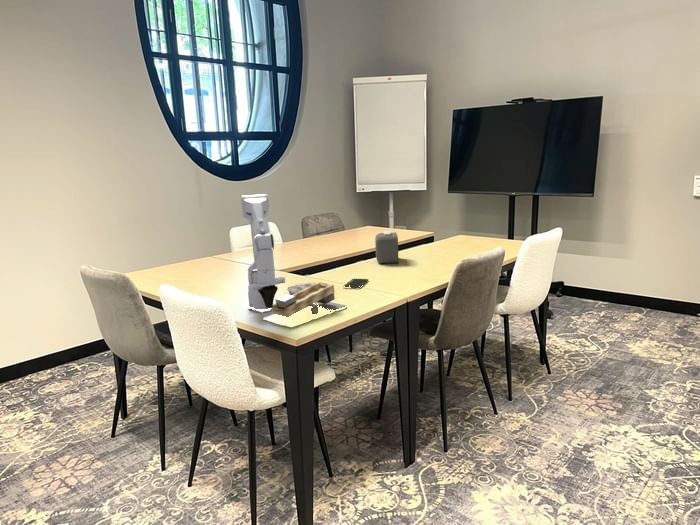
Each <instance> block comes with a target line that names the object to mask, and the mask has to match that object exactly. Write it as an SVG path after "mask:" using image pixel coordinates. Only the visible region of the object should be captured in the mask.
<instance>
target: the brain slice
mask: <svg viewBox="0 0 700 525" xmlns="http://www.w3.org/2000/svg"><path fill="white" fill-rule="evenodd" d="M316 283H317V282H303V283H298V284H295V285H291V286H288V287H287V289H286V290H287V292H289V295H293V294H295V293H297V292H299V291H301V290H304V289H306V288H308V287H310V286H312V285H314V284H316ZM320 283H321V284H322V285H327V286H329V285H331V283H325V282H320Z"/></svg>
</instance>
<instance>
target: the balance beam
mask: <svg viewBox="0 0 700 525" xmlns="http://www.w3.org/2000/svg"><path fill="white" fill-rule="evenodd" d="M315 283H316V284H314V285H312V286H310V287H308V288H306V289H304V290H301V291H299V292H297V293H295V294H293V295H292V296H295V299H296V303H294V304H292V305H290V306H289V307H287V308H285V309H280V308H277V305H276V302H275V303H273V306H272V310H271V311H272V314H278V315H282V316H286V317H289V316H291V315H292V314H294V313H296V312H298V311H300V310H302V309H304V308H306V307H308V306H312V307H317V305H315V304H313V303H315V302H319V303H323V304H327V303H329V302H333V301H335V286H334V284H331V283H330V284H331V285H329V286H327V285H322V284H321V283H322V282H320V281H319V282H315Z"/></svg>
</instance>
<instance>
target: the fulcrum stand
mask: <svg viewBox="0 0 700 525" xmlns="http://www.w3.org/2000/svg"><path fill="white" fill-rule="evenodd" d="M317 303H318V305H319V307H320V306H322V308H323V307H324V308H325V309H327V308H328V309H329V310H330V309H331V310H332V309H333V310H336V309H339V308H342V307H345V306H347V305H346V304H341V303H338V302H337V303H336V302H333V301H331V302H329V303H327V304H323V303H319V302H315V304H316V305H317ZM318 305H317V306H318ZM328 309H327V310H328ZM311 311H312V314H317V313H318V307H313V308H311ZM330 312H331V311H330Z"/></svg>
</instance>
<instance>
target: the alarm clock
mask: <svg viewBox="0 0 700 525" xmlns="http://www.w3.org/2000/svg"><path fill="white" fill-rule="evenodd" d="M374 239H375V258H376V261H377V263H379V264H382V263H385V264H399V236H398V233H397V232H391V231H390V230H384V231H383V232H380V233H377V234H376V235H375V238H374Z"/></svg>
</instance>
